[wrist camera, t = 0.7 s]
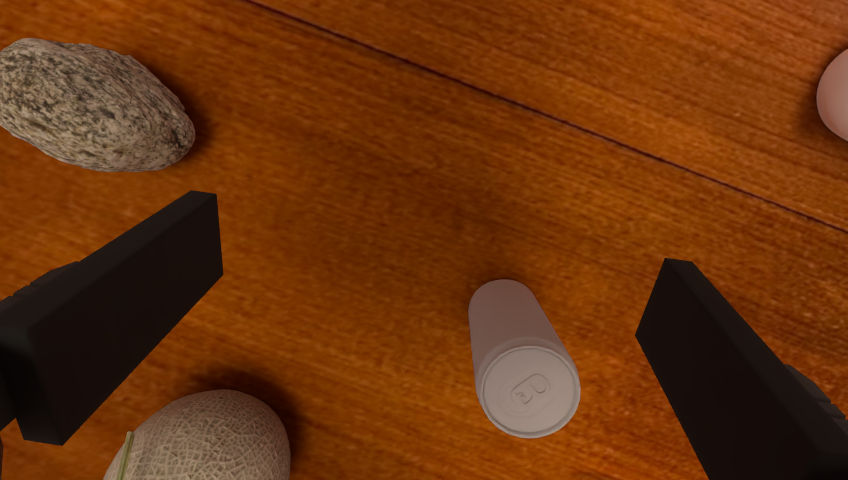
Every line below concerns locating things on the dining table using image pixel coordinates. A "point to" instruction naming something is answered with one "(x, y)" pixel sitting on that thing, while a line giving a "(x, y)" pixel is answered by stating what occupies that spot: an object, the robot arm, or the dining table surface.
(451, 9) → the dining table surface
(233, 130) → the dining table surface
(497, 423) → the beverage can
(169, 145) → the stone
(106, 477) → the fruit
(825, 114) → the figurine
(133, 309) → the robot arm
